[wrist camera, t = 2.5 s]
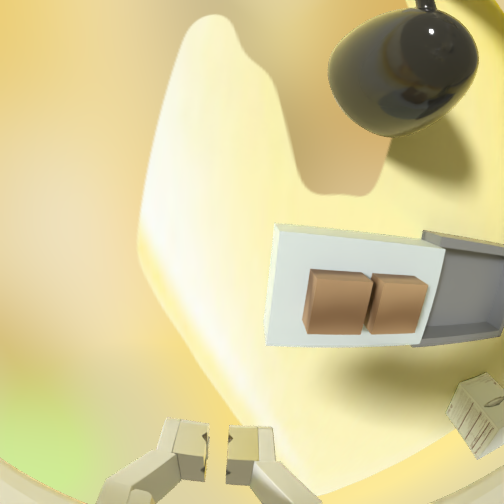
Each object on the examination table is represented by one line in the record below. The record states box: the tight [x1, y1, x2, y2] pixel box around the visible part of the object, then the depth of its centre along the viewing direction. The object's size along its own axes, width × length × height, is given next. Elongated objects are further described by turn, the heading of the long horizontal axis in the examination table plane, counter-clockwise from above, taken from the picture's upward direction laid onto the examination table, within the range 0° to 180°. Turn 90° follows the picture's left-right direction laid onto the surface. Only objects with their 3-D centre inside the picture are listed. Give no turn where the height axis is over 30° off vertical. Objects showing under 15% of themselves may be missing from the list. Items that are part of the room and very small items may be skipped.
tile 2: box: [364, 273, 428, 335], centre depth 22 cm, size 4×4×2 cm
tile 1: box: [302, 269, 373, 335], centre depth 22 cm, size 4×4×2 cm
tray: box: [411, 230, 504, 347], centre depth 26 cm, size 12×17×4 cm
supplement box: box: [446, 372, 504, 460], centre depth 27 cm, size 7×7×13 cm
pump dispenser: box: [328, 0, 479, 138], centre depth 16 cm, size 10×10×15 cm
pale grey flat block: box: [264, 223, 446, 347], centre depth 25 cm, size 10×16×4 cm, turn 85°
